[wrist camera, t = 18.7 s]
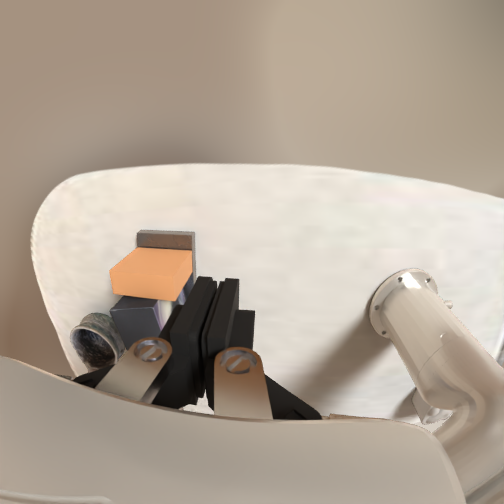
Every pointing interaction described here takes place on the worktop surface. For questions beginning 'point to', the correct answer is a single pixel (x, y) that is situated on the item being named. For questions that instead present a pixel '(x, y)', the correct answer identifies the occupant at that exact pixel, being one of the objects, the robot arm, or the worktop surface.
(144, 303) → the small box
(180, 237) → the grey bent bar
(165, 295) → the vise slide jaw
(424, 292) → the robot arm
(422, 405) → the beige piece
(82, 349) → the mug
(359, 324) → the worktop surface
